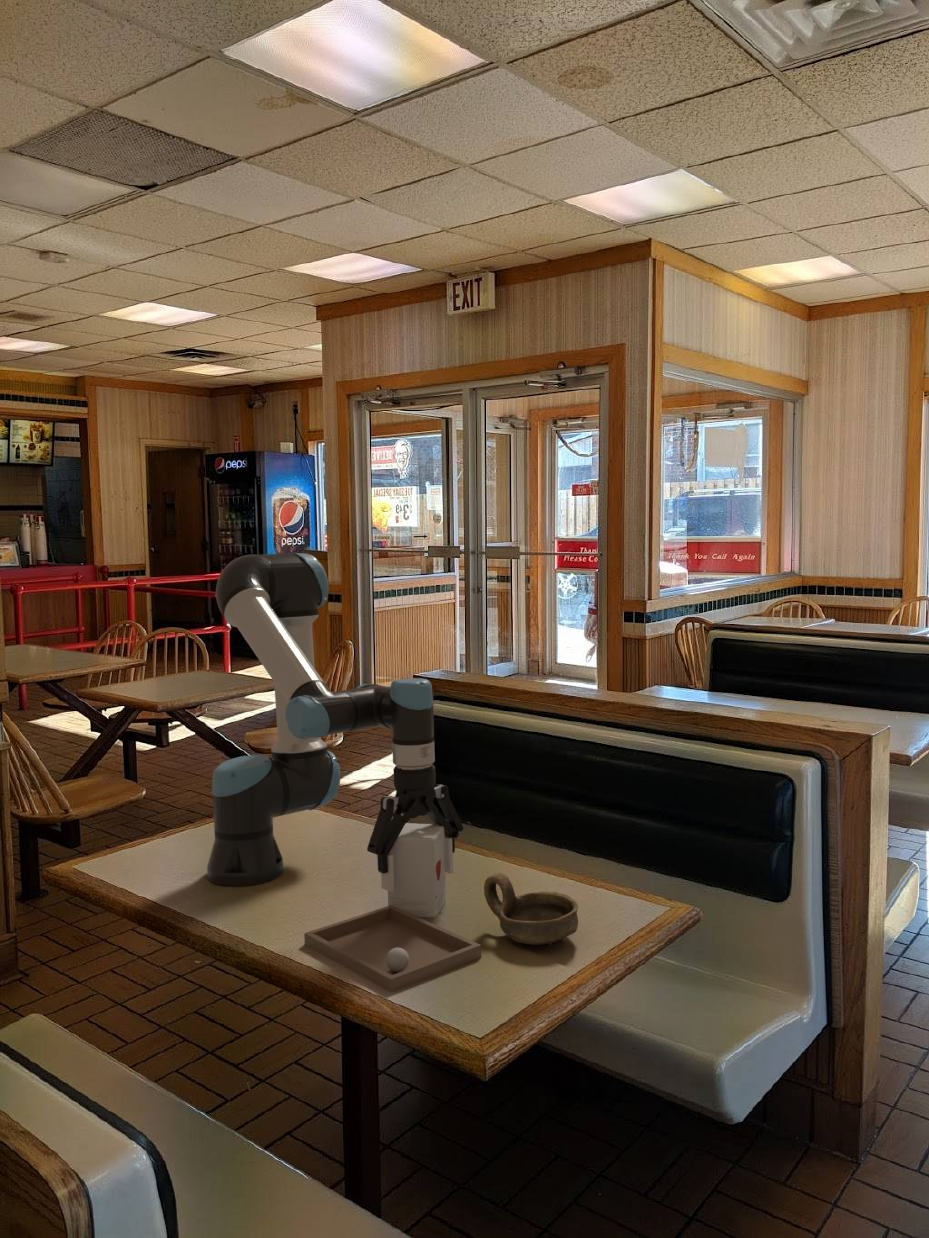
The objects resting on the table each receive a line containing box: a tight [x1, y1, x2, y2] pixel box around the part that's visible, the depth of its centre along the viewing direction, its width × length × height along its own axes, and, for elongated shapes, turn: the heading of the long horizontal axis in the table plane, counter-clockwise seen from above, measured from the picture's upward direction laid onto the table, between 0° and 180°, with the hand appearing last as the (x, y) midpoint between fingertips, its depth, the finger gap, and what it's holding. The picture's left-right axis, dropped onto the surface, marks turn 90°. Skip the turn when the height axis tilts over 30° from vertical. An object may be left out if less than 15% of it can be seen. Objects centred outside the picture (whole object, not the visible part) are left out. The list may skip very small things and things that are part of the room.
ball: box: [386, 948, 409, 972], centre depth 157 cm, size 4×4×4 cm
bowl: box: [483, 872, 579, 946], centre depth 170 cm, size 14×18×10 cm
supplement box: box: [387, 822, 447, 918], centre depth 183 cm, size 9×9×15 cm
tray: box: [303, 905, 483, 993], centre depth 165 cm, size 24×18×2 cm
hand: (418, 880), depth 183 cm, fingers open, 13 cm apart
